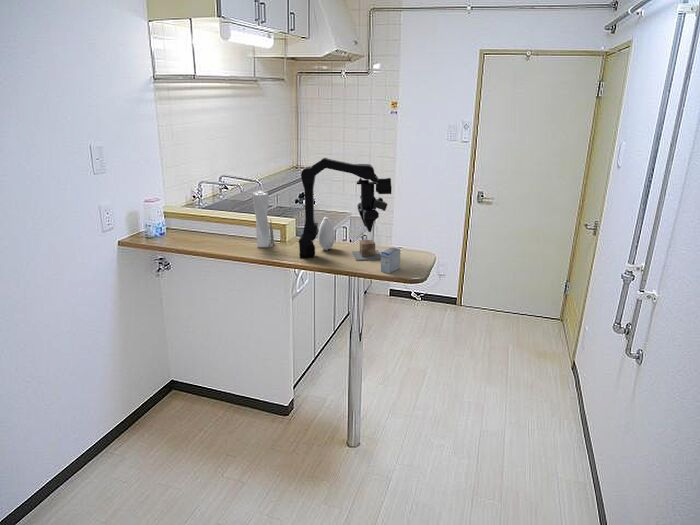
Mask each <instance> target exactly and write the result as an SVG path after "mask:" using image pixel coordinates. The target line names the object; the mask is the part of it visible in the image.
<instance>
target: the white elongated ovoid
mask: <svg viewBox="0 0 700 525" xmlns="http://www.w3.org/2000/svg"><path fill="white" fill-rule="evenodd" d="M318 230H319V232H318V235H317V240H318V244H319V246H320V247H321V248H322V249H323V250H325V251H329V250H331V248H333V246H334V245H335V241H336V234H335V228H334V225H333V223H332V221H331V220H330V217H327V213H325V216H324V217H323V219H322V221H321V223H320V225H319V226H318ZM328 249H329V250H328Z"/></svg>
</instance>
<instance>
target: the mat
mask: <svg viewBox="0 0 700 525" xmlns="http://www.w3.org/2000/svg"><path fill="white" fill-rule="evenodd" d="M351 253H352V255H353V257H354V259H355V261H356V262H362V260H365V261H378V260H379V261H381V251H379V250H378V249H375V256H373V257H362V256H361V254H360V250H356V251H355V250H354V251H352V252H351Z"/></svg>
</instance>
